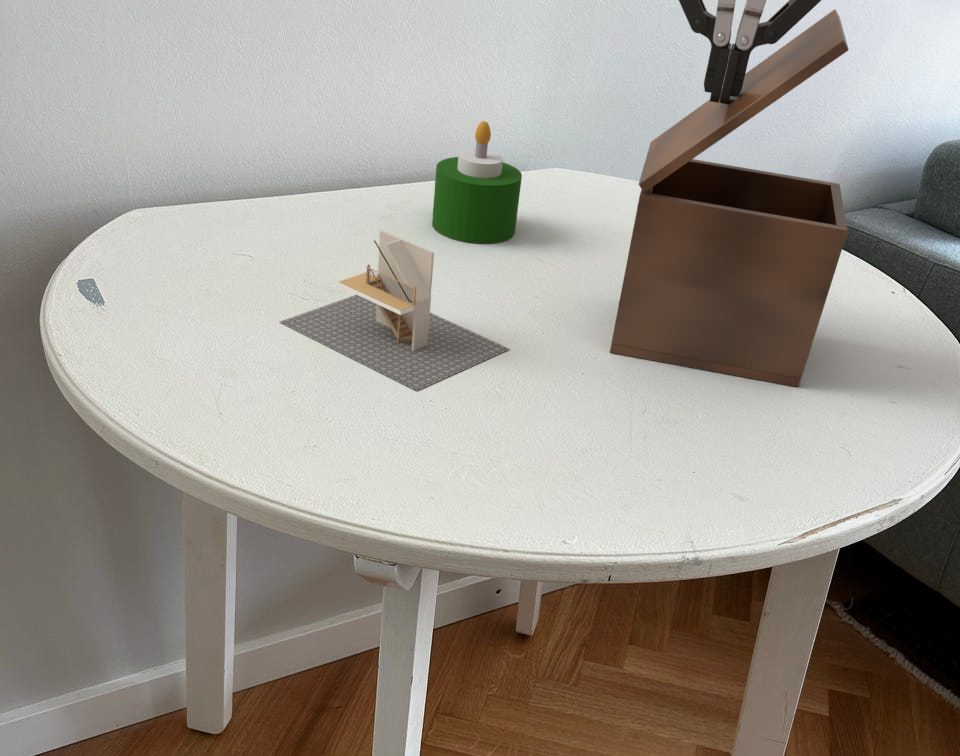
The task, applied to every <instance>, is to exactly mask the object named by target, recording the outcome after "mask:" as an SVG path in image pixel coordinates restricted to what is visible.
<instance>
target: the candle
mask: <svg viewBox="0 0 960 756" xmlns="http://www.w3.org/2000/svg"><path fill="white" fill-rule="evenodd" d="M491 136H492V132H491V127H490V124H489V123H488V122H487V121H486V120H482V121H481V122H480V123H478V124H477V127H476V129H475V133H474V138H475V141H476V142H475V149H464V150H461V151H460V152H458V156H455V157H449V158H448V157H447V158H444V159H441V160H440V161H438V162H437V164H436V166H435V167H436V168H435V179H434V180H435V181H434V193H433V207H432V208H433V209H432V218H431V219H432V221H431V225H432V228H433V229H434V230H435V231H436V232H437V233H439V234H440V235H442V236H443V237H447V238H449V239H451V240H456V241H459V242H463V243H464V242H465V243H471V244H484V245H485V244H497V243H502V242H506V241H509V240H510V239H512V238H513V237H515V234H516V228H517V227H516V226H517V218H518V211H519V203H520V196H521V194H520V193H521V186H522V179H523V175H522V172H521V171H520V170H519V169H518V168H516V167H515V166H513V165H511V164H510V163H507V162H504V158H503V157H502V156H501V155H500V154H499V153H496V152H494V151H493V152H492V151H489V150H488V147H489V146H488V144H489V142H490V141H491Z"/></svg>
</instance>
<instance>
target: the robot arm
mask: <svg viewBox="0 0 960 756" xmlns="http://www.w3.org/2000/svg"><path fill="white" fill-rule="evenodd" d="M736 1H737V0H717V7H716V14H715V15H714V14H712V13H711V12H709V11H708V10H707V7H706V6H705V5H706V4H705V3H704V1H703V0H678V2H679V5H680V7H681V10H682V11H683V14H684V16H685V18H686V20H687V22H688V24H689V26H690V29H691V31H692V32H693V33H695V34H701V35H702V36H703V37H705V38H707V39H708V41H709V42H710V51H709V56H708V60H707V61H708V62H707V66H706V71H705V76H704V81H703V90H704V93H709V94H710V97H709V100H710V102H717V103H722V104H729V101H730V96H733V97H737V96H738V95H739V93H740V92H741V90H742V86H743V82H744V77H745V74H746V73H747V69H748V65H749V60H750V56H751V53H752V52H753V50H755V48H757V47H759V46H765V45H774V44H777V42H778V41H780V39H782V38H783V37H784V36H785V35H786V34H787V33H788V32H789V31H791V30H792V29H793V28H794V27H795V26H796V25H797V24H798V23H799V22H800V21H801V20H802V19H803V18H804V17H806V15H808V13H810V12H811V11H812V10H813V9H814V8H815V7H816V6H817V5H819V4H820V2H821V1H822V0H788V1H787V2H786V3H784V4H783V6H781V7H780V9H778V10H777V11H776V12H775V13H774V14H773V15H772V16H771V17H769V19H768V20H766V21H764V22H760V20H761V18H762V16H763V12H764V9H765V6H766V3H767V0H745V4H744V8H743V12H742V15H741V17H740V22H739V25H738V28H737V31H736V36H735V41H734V43H731V38H732V26H733V19H734V13H735V8H736V7H735V6H736ZM720 95H721V96H720ZM719 100H720V102H719Z"/></svg>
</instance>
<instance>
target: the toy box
mask: <svg viewBox="0 0 960 756" xmlns="http://www.w3.org/2000/svg"><path fill="white" fill-rule="evenodd" d="M640 189H641V188H640ZM844 207H845V206H844V200H843V196H842V190H841V184H840V183H837V182H832V181H825V180H819V179H815V178H808V177H801V176H795V175H789V174H784V173H776V172H772V171H765V170H761V169H760V170H759V169H753V168H748V167H741V166H735V165H730V164H723V163H718V162H712V161H706V160H700V159H695V158H693V159H692V160H690V161H689V162H688V163H686V164H685V165H683V166H682V167H680V168H679V169H678V170H676V171H675V172H673V173H672V174H670V175H669V176H667V177H666V178H665V179H663V180H662V181H660V182H659V183H657V184H656V185H655V186H653V187H652V188H650V189H649V190H647V191H646V192H643V191H642V189H641V190H640V193H639V197H638V202H637V208H636V213H635V218H634V223H633V229H632V234H631V238H630V243H629V249H628V254H627V260H626V265H625V270H624V275H623V281H622V286H621V290H620V295H619V301H618V307H617V311H616V312H617V313H616V316H615V323H614V328H613V333H612V338H611V342H610V343H611V344H610V348H609V353H611V354H616V355H623V356H627V357H632V358H639V359H643V360H648V361H649V360H650V361H655V362H661V363H665V364H670V365H675V366H682V367H687V368H692V369H697V370H702V371H707V372H708V371H709V372H714V373H719V374H724V375H725V374H726V375H729V376H736V377H740V378H745V379H746V378H747V379H752V380H757V381H763V382H769V383H773V384H777V385H778V384H779V385H784V386H791V387H795V388H799V387H800V384H801V381H802V378H803V374H804V372H805V369H806V365H807V362H808V359H809V356H810V353H811V350H812V346H813V343H814V341H815V336H816V333H817V331H818V327H819V323H820V321H821V318H822V315H823V311H824V308H825V305H826V302H827V298H828V295H829V292H830V289H831V285H832V284H833V279H834V276H835V273H836V270H837V266H838V264H839V261H840V257H841V254H842V251H843V247H844V244H845V241H846V239H847V235H848V232H849V231H848V224H847V218H846V212H845V208H844Z"/></svg>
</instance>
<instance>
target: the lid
mask: <svg viewBox="0 0 960 756" xmlns="http://www.w3.org/2000/svg"><path fill="white" fill-rule="evenodd" d="M848 46H849V45H848V42H847V39H846V35H845V31H844V28H843V25H842V21H841V17H840V15H839V14H838V12H837V9H832V10H831V11H830V12H829V13H827V14H826V15H824V16H823V17H822V18H820V19H819V20H818V21H816V22H815V23H814V24H812V25H811V26H809V27H808V28H807V29H805V30H804V31H802V32H801V33H800V34H798V35H797V36H795V37H794V38H792V40H790V41H789V42H787V43H786V44H785V45H783V46H782V47H780V48H779V49H778V50H776V51H775V52H773V53H772V54H770V55H769V56H767V58H765V59H764V60H762V61H761V62H759V63H758V64H757V65H756V66H754V67H753V68H751V69H750V70H748V71H746V73H745V77H744V82H743V86H742V90H741V92H740V93H739V95H738V96H737V97H733V96H730V101H729V104H722V103H717V102H710V99H708V100H707V101H705V102H704V103H702V104H701V105H700V106H698V107H696V109H694V110H693V111H692V112H690V113H689V114H687V115H686V116H684V117H683V118H682V119H680V120H679V121H677V122H676V123H675V124H674V125H672V126H670V127H669V128H668V129H666V130H665V131H664V132H663V133H661V134H660V135H658V136H657V137H655V138H654V139H653V140H651V141H650V143H649V147H648V151H647V154H646V157H645V160H644V164H643V166H642V171H641V174H640V178H639V181H638V186H639V188H640V189H642V191H643V192H646V191H647V190H649V189H650V188H652V187H653V186H655V185H656V184H657V183H659V182H660V181H662V180H663V179H665V178H666V177H667V176H669V175H670V174H672V173H673V172H675V171H676V170H678V169H679V168H680V167H682V166H683V165H685V164H686V163H688V162H689V161H690V160H692V159H695V158H697V157H698V156H699V155H701V154H702V153H703V152H705V151H706V150H708V149H709V148H711V147H712V146H713V145H715V144H717V143H718V142H719V141H721V140H722V139H723V138H725V137H726V136H728V135H730V134H731V133H732V132H734V131H735V130H736V129H737V128H739V127H741V126H742V125H744V124H745V123H746V122H748V121H749V120H751V119H752V118H754V117H755V116H756V115H758V114H759V113H761V112H762V111H764V110H766V108H768V107H769V106H771V105H772V104H775V102H776V101H778V100H779V99H781V98H782V97H784V96H785V95H786V94H788V93H790V92H791V91H792V90H794V89H795V88H797V87H798V86H800V85H801V84H802V83H804V82H805V81H806V80H807V81H808V79H810V78H811V77H813V76H814V75H815V74H817V73H818V72H820V71H821V70H822V69H824V68H826V67H827V66H829V65H830V64H831V63H832V62H834V61H835V60H837V59H839V57H841V56H843V55H844V54H845V53H847V52H848V51H849V47H848ZM720 96H721V95H720ZM719 102H720V100H719Z"/></svg>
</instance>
